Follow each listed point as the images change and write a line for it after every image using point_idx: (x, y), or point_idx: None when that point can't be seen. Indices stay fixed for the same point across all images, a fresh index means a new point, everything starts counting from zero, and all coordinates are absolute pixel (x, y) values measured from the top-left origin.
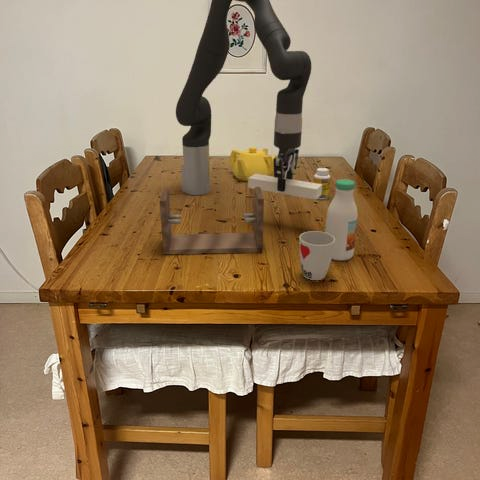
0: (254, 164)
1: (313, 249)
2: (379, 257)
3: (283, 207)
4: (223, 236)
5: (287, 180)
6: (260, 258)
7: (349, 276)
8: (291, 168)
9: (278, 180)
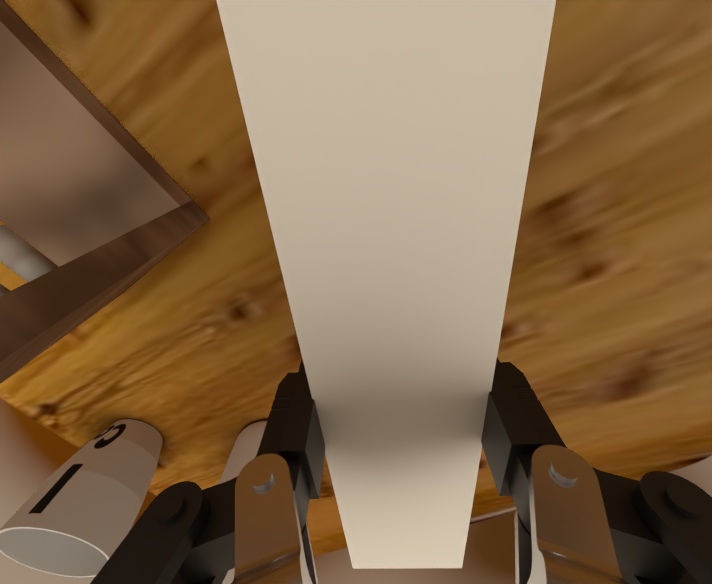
0: None
1: (24, 540)
2: (322, 496)
3: (641, 129)
4: (20, 95)
5: (433, 427)
6: None
7: (197, 478)
8: (518, 575)
9: (260, 449)
